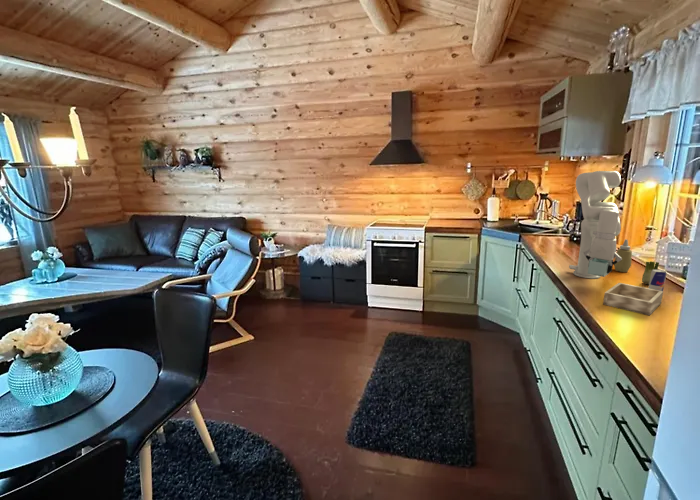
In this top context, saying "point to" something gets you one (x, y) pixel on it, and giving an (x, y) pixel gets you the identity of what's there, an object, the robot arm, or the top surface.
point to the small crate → (598, 267)
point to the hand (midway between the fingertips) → (599, 270)
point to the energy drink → (657, 279)
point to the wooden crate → (633, 298)
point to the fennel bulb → (649, 271)
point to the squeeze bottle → (624, 258)
